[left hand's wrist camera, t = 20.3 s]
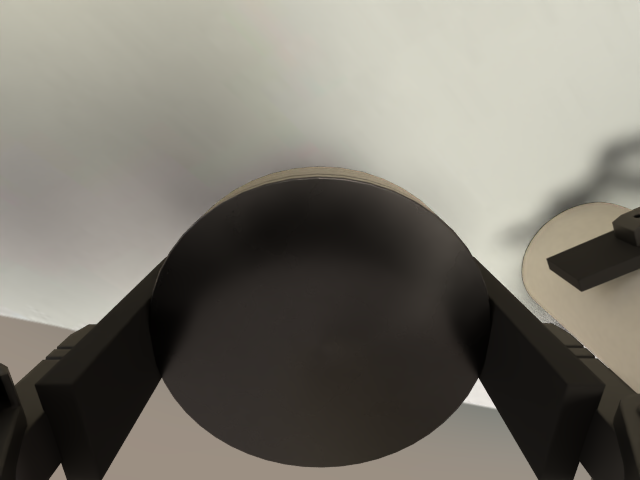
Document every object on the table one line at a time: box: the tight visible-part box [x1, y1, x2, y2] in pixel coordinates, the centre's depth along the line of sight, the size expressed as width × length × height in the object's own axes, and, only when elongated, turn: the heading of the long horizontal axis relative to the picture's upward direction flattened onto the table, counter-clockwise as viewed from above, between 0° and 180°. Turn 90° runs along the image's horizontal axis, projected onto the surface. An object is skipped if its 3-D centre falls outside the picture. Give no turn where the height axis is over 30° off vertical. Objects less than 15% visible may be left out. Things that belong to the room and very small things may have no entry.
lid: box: [149, 167, 491, 467], centre depth 11 cm, size 10×10×2 cm
